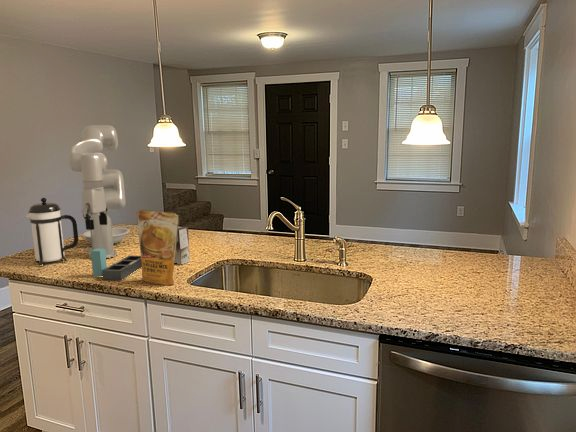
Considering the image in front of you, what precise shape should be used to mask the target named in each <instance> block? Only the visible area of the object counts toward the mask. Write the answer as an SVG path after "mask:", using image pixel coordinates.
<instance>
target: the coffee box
mask: <svg viewBox="0 0 576 432" xmlns="http://www.w3.org/2000/svg"><path fill="white" fill-rule="evenodd" d="M189 236H190V235H189V227H187V226H179V225H178V232H177V243H176V252H175V262H174V263H177V264H176V265H179V264H183V265H185V264H184V263H186V264H188V263H190V262H191V256H190V255H191V252H190V238H189ZM189 261H190V262H189ZM187 262H188V263H187Z"/></svg>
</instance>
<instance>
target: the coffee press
mask: <svg viewBox="0 0 576 432" xmlns="http://www.w3.org/2000/svg"><path fill="white" fill-rule="evenodd" d="M61 211H62V207H60V205H59V204H58V203H56V202H47V198H46V197H41V199H40V202H39V203H35V204H32V205H31V206H30V207H29V209H28V212H27V213H26V216H25V218H29V221H30V225H31V235H32V242H33V249H34V257H35V259H34V261H35V260H37V261H39V262H38V266H39V265H42V264H44V265H45V264H46V263H51V262H56V261H57V262H58V261H60V262H61V261H66V262H67V258H66V257H65V256H66V255H65V253H66V252H65V251H67V250H70V249H73V248H76V246H77V245H78V242H79V232H78V225H77V221H76V218H75V217H74V216H72V215H69V214H64V215H61ZM62 220H70V222H71V224H72V234H73V242H72V243H71V244H67V245H65V244H64V243H65V242H64V237H63V236H64V235H63V228H62V226H63V225H62Z"/></svg>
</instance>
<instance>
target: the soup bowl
mask: <svg viewBox="0 0 576 432" xmlns="http://www.w3.org/2000/svg"><path fill="white" fill-rule="evenodd" d="M130 232H131V230H130V229H129V228H127V227H113V226H112V236H113V245H114V243H115V244H118V243H119V242H120V243H121V242H122V241H123V240H124V239H125V237H127V235H128V233H130ZM81 237H83V238H85V239H86V241H88V242H89V243H91V233H90V230H87V231H84V232H83V233H81ZM91 244H92V243H91Z"/></svg>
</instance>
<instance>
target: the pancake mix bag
mask: <svg viewBox="0 0 576 432" xmlns="http://www.w3.org/2000/svg"><path fill="white" fill-rule="evenodd" d="M179 216H180V215H178V214H177V213H176V212H169V211H159V210H146V209H145V210H143V209H142V210H138V211H136V217H137V228H138V245H139V249H140V250H139V252H140V256H141V261H142V268H141V280H143V282H144V281H145V283H148V282H150V283H149V284H153V283H156V284H155V285H159V284H161V285H160V286H166V285H167V286H172V285H173V286H174V285H175V283H174V282H175V281H174V278H173V277H174V272H175V271H174V270H175V264H174V262H175V252H176V243H177V232H178V226H179V224H180V217H179Z"/></svg>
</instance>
